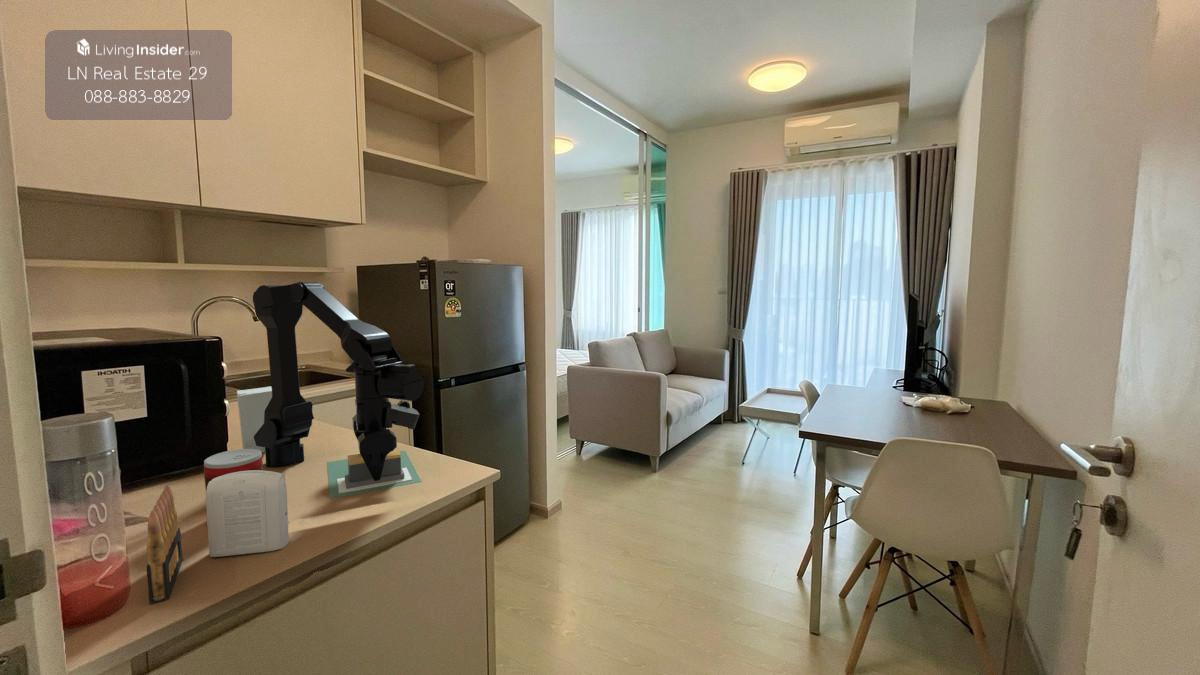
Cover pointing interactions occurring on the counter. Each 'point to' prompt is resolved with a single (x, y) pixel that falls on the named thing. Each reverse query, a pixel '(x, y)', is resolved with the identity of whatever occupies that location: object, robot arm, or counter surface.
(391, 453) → the yellow and grey block
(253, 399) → the skincare box
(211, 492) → the photo printer
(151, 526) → the ammunition clip
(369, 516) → the counter surface
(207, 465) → the canned food
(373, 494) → the counter surface
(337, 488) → the board
